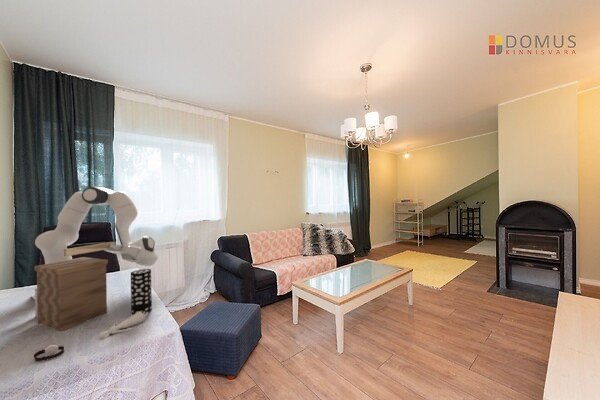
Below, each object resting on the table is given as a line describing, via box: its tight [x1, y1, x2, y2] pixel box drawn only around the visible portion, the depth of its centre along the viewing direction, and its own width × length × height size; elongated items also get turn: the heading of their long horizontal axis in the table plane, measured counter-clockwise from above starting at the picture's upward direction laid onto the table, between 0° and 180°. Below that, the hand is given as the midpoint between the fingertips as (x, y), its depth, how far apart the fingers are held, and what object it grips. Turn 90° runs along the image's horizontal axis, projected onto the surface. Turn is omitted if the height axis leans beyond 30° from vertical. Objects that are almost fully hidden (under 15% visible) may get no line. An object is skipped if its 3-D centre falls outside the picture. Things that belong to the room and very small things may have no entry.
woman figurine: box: [98, 311, 149, 339], centre depth 100 cm, size 12×4×18 cm
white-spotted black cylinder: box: [130, 268, 153, 316], centre depth 114 cm, size 8×8×20 cm
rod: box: [64, 241, 117, 256], centre depth 116 cm, size 3×20×3 cm, turn 159°
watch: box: [33, 344, 65, 362], centre depth 82 cm, size 8×5×4 cm, turn 114°
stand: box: [34, 256, 109, 332], centre depth 109 cm, size 20×18×26 cm
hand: (106, 245), depth 122 cm, fingers closed on rod, 3 cm apart
